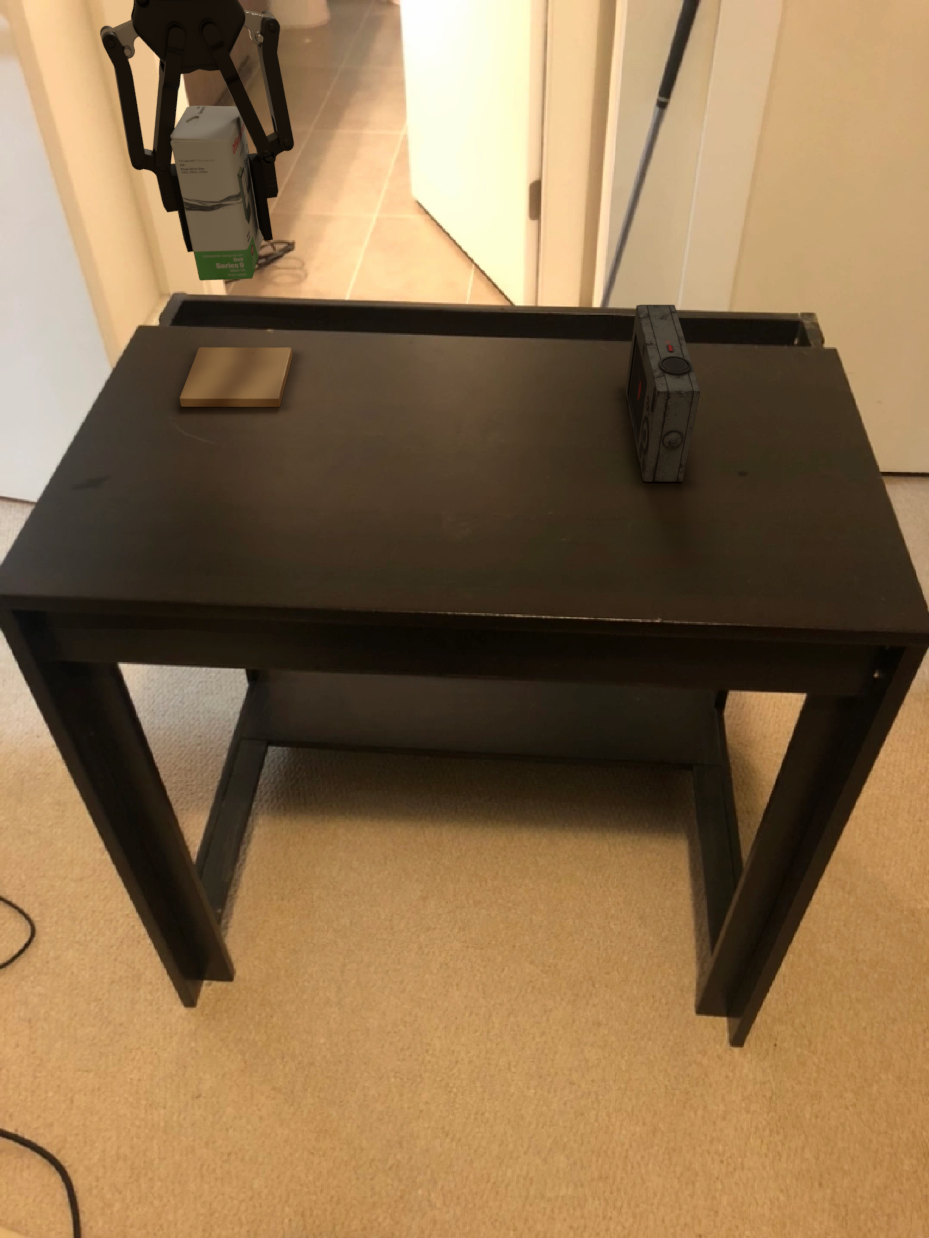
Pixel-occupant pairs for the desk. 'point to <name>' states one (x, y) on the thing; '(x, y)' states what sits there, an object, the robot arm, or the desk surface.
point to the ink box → (217, 191)
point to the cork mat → (237, 377)
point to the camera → (661, 393)
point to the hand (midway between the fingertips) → (228, 239)
